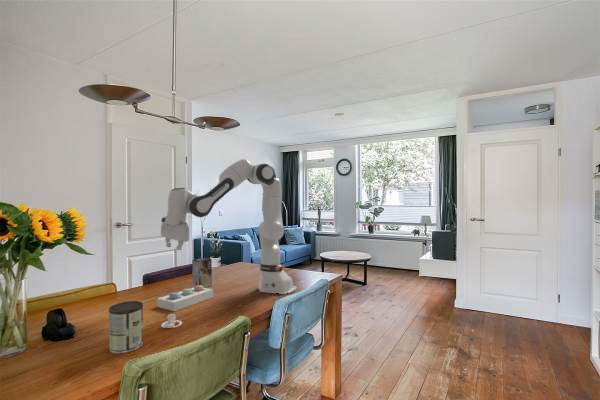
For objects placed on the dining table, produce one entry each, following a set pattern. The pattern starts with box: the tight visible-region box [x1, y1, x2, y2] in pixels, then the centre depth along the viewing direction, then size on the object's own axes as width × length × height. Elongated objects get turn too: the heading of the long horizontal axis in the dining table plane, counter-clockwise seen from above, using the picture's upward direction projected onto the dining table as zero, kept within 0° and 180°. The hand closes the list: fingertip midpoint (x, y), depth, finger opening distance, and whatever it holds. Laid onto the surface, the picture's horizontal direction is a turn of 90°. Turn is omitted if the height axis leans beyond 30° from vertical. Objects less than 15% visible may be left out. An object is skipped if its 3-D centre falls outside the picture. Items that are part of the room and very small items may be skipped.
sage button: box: [181, 288, 191, 296], centre depth 155 cm, size 4×4×3 cm
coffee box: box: [191, 257, 213, 288], centre depth 182 cm, size 9×6×16 cm
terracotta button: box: [194, 285, 203, 292], centre depth 161 cm, size 4×4×3 cm
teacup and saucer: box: [160, 313, 183, 329], centre depth 127 cm, size 9×8×4 cm
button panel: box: [157, 286, 214, 312], centre depth 155 cm, size 24×12×4 cm, turn 150°
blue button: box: [168, 291, 179, 300], centre depth 148 cm, size 4×4×3 cm
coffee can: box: [108, 300, 144, 354], centre depth 108 cm, size 10×10×14 cm
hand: (173, 248), depth 152 cm, fingers open, 8 cm apart
